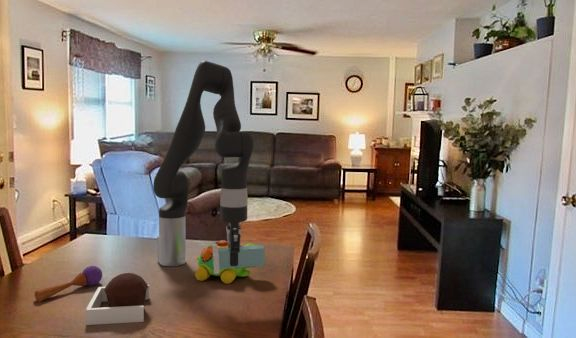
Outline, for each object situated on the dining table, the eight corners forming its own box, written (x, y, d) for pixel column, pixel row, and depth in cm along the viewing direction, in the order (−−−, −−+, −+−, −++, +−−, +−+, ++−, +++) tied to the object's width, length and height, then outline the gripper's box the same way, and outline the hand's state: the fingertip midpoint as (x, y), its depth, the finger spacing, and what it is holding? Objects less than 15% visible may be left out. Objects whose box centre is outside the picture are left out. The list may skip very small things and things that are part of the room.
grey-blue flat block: (261, 257, 140) (261, 241, 140) (266, 269, 129) (266, 252, 129) (212, 261, 137) (212, 244, 137) (214, 273, 127) (213, 255, 126)
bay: (149, 297, 138) (149, 284, 137) (143, 321, 122) (143, 306, 122) (98, 300, 135) (98, 287, 135) (86, 325, 119) (85, 309, 119)
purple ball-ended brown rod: (30, 286, 135) (92, 263, 151) (34, 306, 135) (96, 281, 152) (41, 286, 131) (103, 263, 148) (45, 307, 132) (107, 281, 148)
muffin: (113, 302, 134) (112, 268, 133) (152, 302, 135) (152, 268, 134) (98, 320, 122) (97, 283, 121) (141, 320, 123) (140, 283, 122)
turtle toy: (256, 288, 148) (256, 251, 146) (186, 281, 152) (186, 245, 151) (269, 271, 164) (269, 238, 163) (206, 265, 169) (206, 233, 167)
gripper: (250, 208, 125) (249, 271, 127) (244, 198, 139) (244, 255, 141) (221, 208, 123) (221, 272, 125) (219, 199, 137) (218, 256, 139)
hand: (233, 263), depth 133 cm, fingers closed on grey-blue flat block, 3 cm apart
